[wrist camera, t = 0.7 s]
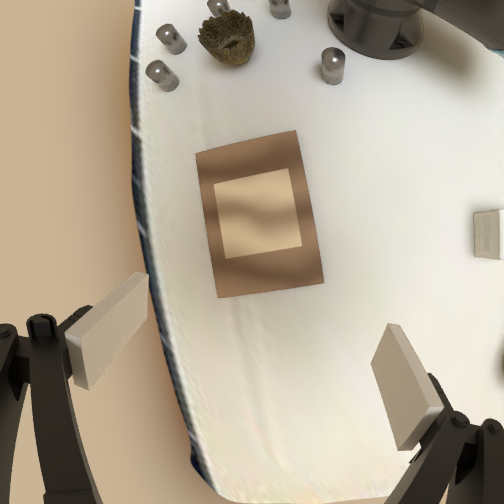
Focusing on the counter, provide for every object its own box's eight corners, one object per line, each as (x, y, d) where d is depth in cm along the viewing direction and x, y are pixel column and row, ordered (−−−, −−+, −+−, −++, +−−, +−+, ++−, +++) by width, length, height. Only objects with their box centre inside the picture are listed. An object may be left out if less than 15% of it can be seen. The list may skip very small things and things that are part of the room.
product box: (504, 214, 33) (531, 210, 26) (504, 257, 33) (532, 259, 26) (472, 213, 34) (498, 208, 27) (473, 257, 34) (499, 260, 27)
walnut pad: (197, 155, 42) (195, 153, 41) (296, 132, 39) (295, 129, 38) (219, 297, 42) (217, 298, 41) (324, 282, 39) (324, 283, 38)
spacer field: (207, -4, 41) (197, -22, 36) (364, 30, 36) (367, 9, 31) (147, 87, 43) (130, 73, 38) (315, 140, 38) (314, 125, 33)
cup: (255, 33, 39) (243, 3, 32) (269, 66, 39) (259, 36, 31) (210, 50, 41) (192, 22, 33) (221, 83, 41) (203, 56, 33)
